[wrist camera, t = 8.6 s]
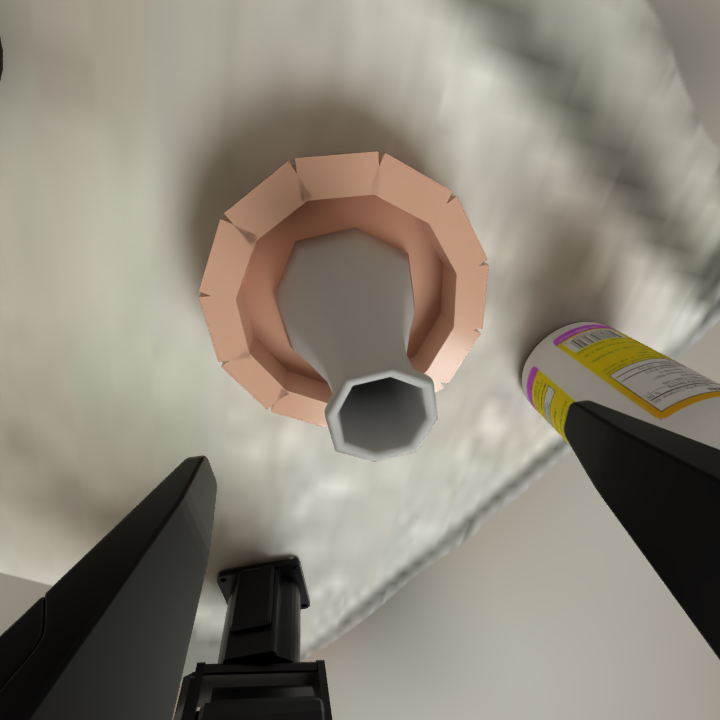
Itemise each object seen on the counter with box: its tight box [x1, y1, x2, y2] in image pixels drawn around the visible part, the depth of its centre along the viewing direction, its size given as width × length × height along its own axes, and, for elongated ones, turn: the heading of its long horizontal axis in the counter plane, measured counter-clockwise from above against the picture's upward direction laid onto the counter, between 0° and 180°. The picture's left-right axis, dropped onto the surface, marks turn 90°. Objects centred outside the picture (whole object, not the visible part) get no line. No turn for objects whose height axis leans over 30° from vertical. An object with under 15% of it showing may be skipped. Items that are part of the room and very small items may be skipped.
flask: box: [274, 227, 438, 462], centre depth 14 cm, size 7×7×10 cm
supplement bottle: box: [522, 322, 720, 450], centre depth 18 cm, size 7×7×13 cm
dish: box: [199, 151, 489, 428], centre depth 18 cm, size 13×13×3 cm
